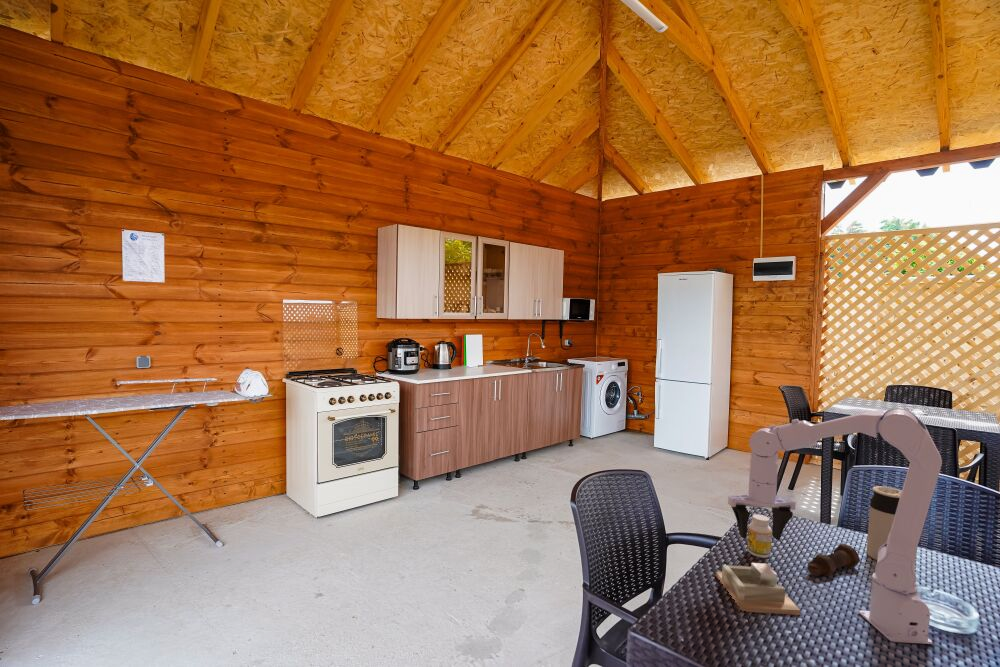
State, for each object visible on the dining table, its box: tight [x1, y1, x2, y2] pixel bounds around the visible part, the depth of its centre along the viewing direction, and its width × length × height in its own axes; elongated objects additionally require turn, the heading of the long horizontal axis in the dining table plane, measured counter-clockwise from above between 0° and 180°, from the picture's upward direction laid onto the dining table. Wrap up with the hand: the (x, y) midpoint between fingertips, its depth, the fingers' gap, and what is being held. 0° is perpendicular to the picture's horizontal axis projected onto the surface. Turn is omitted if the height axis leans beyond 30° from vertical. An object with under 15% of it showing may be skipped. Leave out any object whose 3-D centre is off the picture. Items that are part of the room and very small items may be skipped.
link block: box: [750, 562, 778, 585], centre depth 112 cm, size 4×4×5 cm
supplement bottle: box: [747, 513, 773, 559], centre depth 131 cm, size 5×5×10 cm
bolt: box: [806, 543, 861, 577], centre depth 124 cm, size 6×5×15 cm
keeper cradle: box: [715, 564, 802, 616], centre depth 112 cm, size 14×12×4 cm
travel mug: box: [866, 485, 902, 561], centre depth 131 cm, size 8×8×18 cm
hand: (759, 537), depth 117 cm, fingers open, 7 cm apart
